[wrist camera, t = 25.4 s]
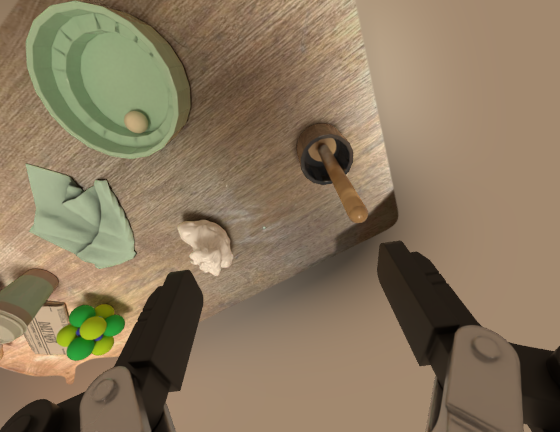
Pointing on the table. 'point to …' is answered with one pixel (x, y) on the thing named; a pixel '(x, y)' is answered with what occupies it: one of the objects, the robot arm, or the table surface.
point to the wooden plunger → (339, 179)
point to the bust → (207, 245)
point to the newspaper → (47, 329)
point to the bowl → (107, 77)
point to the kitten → (1, 351)
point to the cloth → (80, 218)
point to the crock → (316, 168)
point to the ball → (136, 122)
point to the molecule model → (90, 331)
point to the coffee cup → (23, 302)
